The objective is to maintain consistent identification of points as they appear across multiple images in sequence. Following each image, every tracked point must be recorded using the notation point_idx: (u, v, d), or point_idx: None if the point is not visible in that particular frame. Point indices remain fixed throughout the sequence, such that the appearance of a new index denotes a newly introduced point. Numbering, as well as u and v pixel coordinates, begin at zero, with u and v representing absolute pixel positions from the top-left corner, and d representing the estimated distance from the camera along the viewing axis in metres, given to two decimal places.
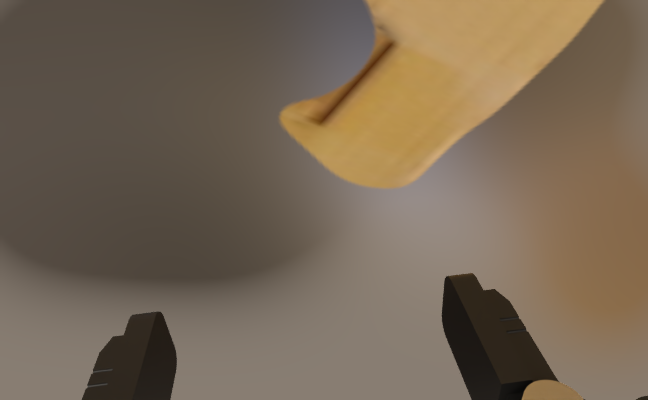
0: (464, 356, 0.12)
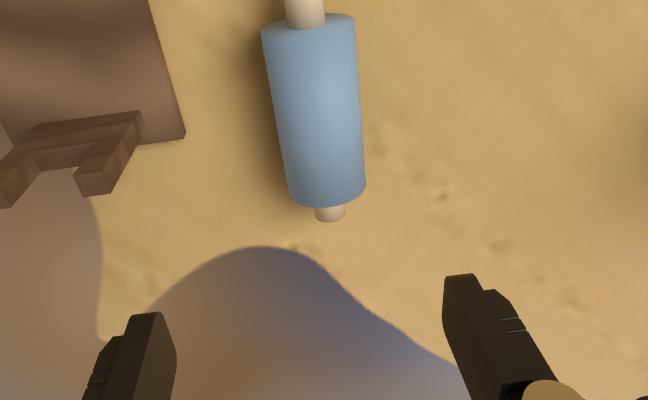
0: (464, 356, 0.12)
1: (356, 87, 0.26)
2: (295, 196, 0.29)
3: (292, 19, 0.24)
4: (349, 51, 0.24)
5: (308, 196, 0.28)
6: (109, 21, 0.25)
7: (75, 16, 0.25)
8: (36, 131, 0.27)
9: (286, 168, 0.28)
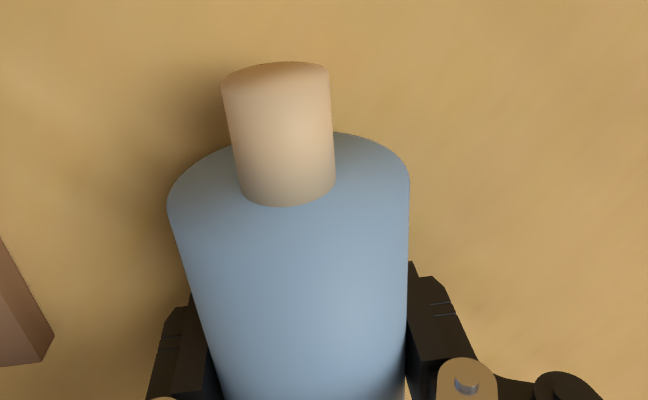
0: None
1: (400, 328, 0.11)
2: None
3: (246, 178, 0.09)
4: (391, 269, 0.09)
5: None
6: None
7: None
8: None
9: None
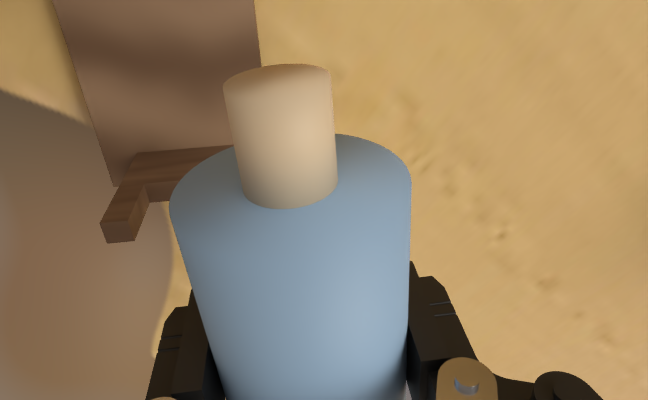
0: None
1: (402, 329, 0.11)
2: None
3: (248, 180, 0.09)
4: (392, 270, 0.09)
5: None
6: (223, 62, 0.26)
7: (192, 55, 0.26)
8: (139, 161, 0.28)
9: None
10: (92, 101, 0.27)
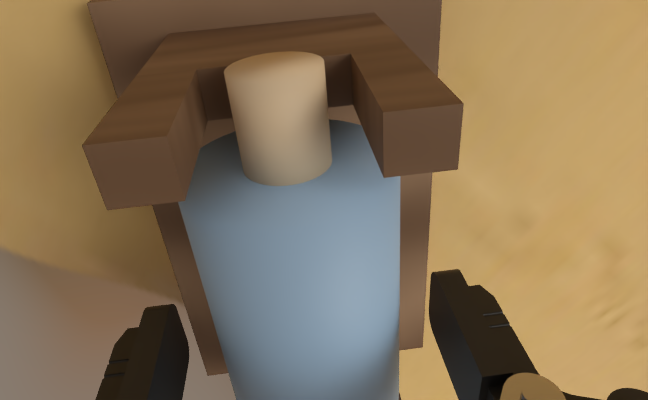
0: (449, 351, 0.12)
1: (393, 301, 0.11)
2: None
3: (247, 158, 0.10)
4: (383, 243, 0.10)
5: None
6: None
7: None
8: None
9: None
10: (187, 283, 0.19)
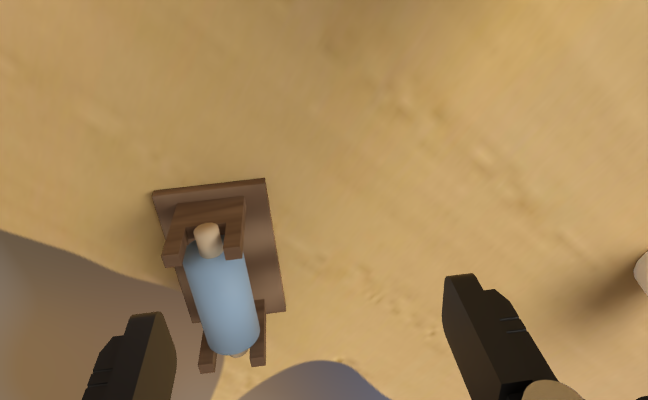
0: (464, 356, 0.12)
1: (245, 285, 0.40)
2: (210, 346, 0.43)
3: (201, 252, 0.38)
4: (238, 270, 0.39)
5: (217, 348, 0.42)
6: (257, 261, 0.47)
7: None
8: None
9: (203, 329, 0.42)
10: (183, 283, 0.47)
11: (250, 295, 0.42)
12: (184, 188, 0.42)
